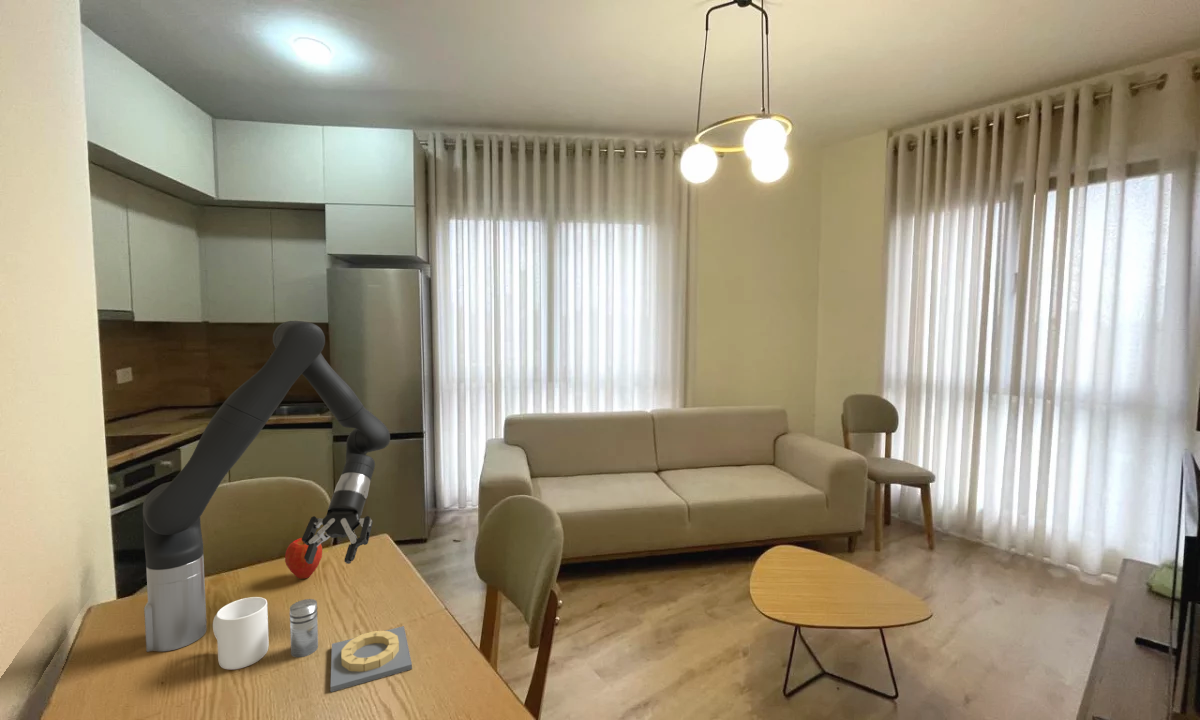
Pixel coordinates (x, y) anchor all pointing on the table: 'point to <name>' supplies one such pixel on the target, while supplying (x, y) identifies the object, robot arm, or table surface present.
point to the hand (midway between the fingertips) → (328, 562)
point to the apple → (301, 559)
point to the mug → (241, 632)
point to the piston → (303, 628)
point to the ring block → (369, 658)
